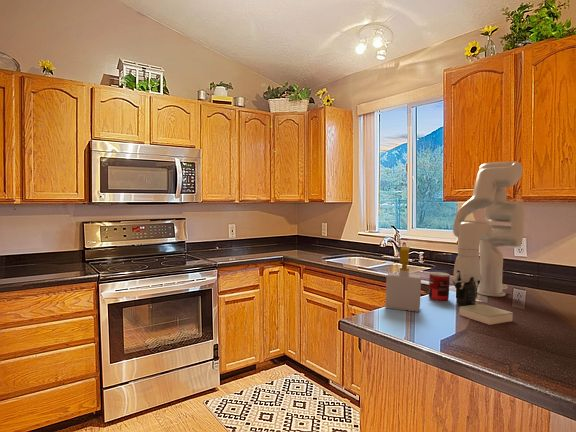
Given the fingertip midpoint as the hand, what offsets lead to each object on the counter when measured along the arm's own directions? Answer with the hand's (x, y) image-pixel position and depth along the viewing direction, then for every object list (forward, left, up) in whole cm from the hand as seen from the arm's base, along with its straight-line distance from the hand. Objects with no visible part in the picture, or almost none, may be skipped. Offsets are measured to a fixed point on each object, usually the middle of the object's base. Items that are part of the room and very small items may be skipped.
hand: (466, 297), depth 152 cm
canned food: (+2, -12, -4) cm, 13 cm away
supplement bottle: (0, 0, -4) cm, 4 cm away
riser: (+7, +14, -3) cm, 16 cm away
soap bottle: (+27, -6, -4) cm, 28 cm away
